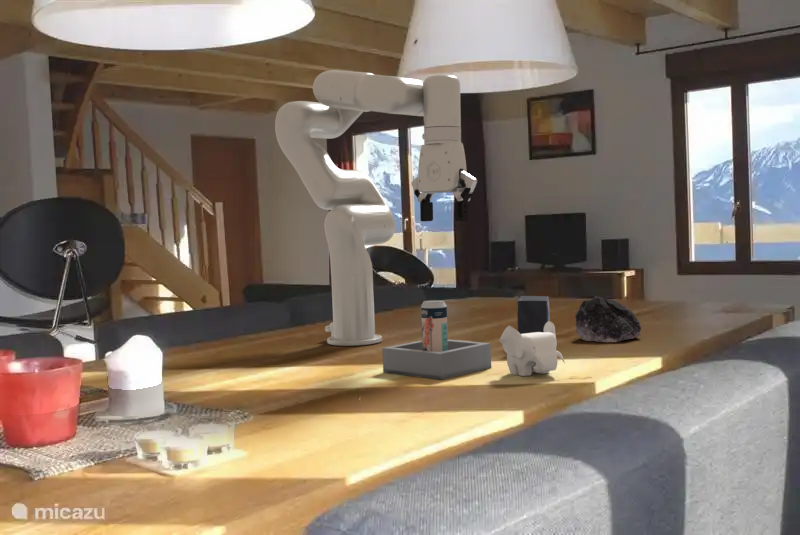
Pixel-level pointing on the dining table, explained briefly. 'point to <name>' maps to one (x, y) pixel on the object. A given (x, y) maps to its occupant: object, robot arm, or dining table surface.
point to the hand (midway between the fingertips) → (443, 221)
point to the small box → (532, 313)
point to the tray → (437, 359)
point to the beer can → (434, 326)
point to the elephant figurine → (531, 350)
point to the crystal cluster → (606, 321)
